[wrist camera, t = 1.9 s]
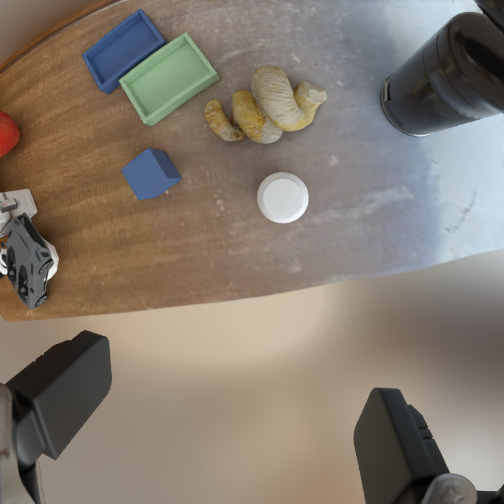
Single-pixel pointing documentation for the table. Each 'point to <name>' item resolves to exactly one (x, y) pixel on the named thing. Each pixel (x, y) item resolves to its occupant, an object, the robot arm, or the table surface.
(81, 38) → the table surface
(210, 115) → the seashell
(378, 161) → the table surface
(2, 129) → the apple
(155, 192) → the blue block
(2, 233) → the ink box
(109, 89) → the blue tray
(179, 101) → the green tray
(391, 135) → the table surface
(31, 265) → the toy car
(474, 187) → the table surface
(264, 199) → the pill bottle
